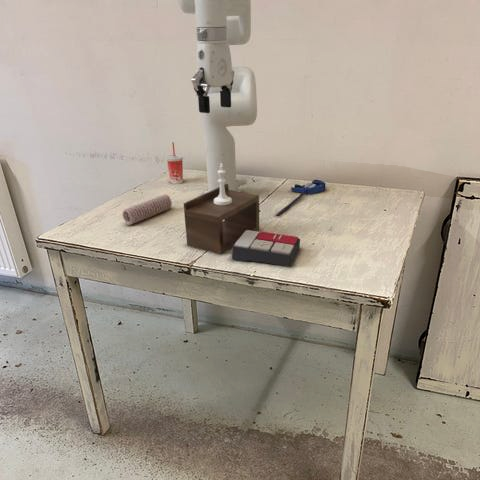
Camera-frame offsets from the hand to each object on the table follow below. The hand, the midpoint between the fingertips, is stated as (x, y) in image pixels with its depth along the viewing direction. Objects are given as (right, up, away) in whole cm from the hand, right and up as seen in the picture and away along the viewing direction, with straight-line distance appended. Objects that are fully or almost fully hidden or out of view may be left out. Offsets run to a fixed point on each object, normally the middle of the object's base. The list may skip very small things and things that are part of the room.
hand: (215, 109), depth 130 cm
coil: (-21, -25, +19) cm, 38 cm away
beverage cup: (-17, -6, +49) cm, 52 cm away
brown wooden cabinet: (+2, -34, +3) cm, 34 cm away
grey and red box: (+13, -40, -7) cm, 43 cm away
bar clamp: (+25, -17, +29) cm, 42 cm away
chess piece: (+2, -25, -2) cm, 26 cm away
